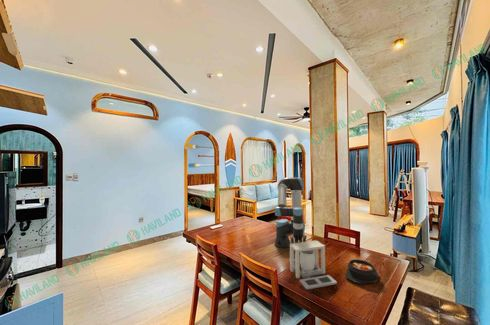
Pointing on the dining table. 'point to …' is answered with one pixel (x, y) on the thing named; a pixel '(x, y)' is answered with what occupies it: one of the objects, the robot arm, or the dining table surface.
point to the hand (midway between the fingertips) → (298, 257)
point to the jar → (307, 260)
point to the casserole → (361, 272)
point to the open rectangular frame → (319, 280)
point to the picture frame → (309, 273)
